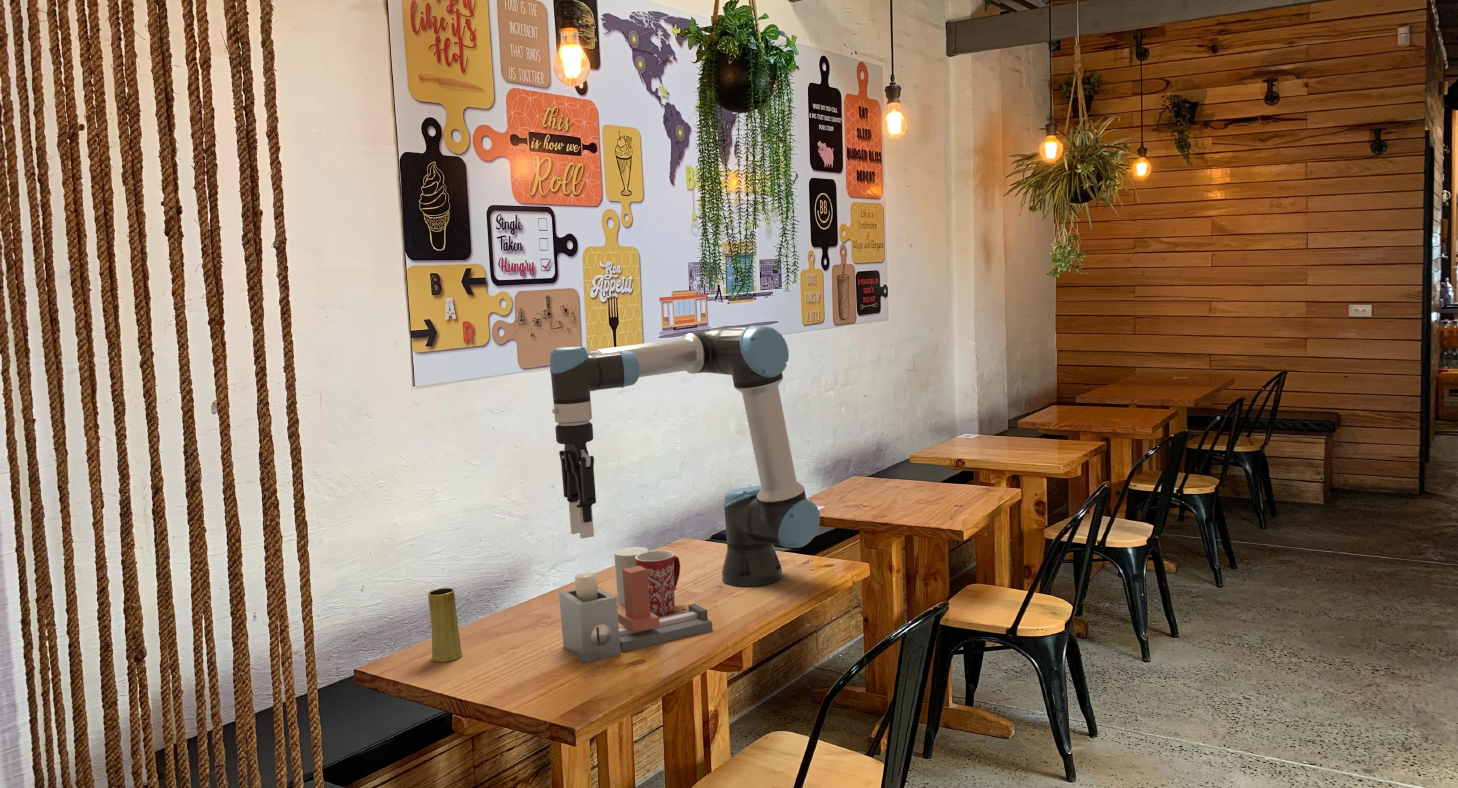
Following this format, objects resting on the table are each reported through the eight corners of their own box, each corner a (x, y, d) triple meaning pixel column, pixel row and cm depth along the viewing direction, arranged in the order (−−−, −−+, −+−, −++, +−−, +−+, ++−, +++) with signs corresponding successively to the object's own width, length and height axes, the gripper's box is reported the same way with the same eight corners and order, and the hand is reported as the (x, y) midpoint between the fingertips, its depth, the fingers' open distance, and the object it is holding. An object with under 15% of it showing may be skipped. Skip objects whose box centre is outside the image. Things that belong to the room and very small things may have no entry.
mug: (661, 620, 239) (656, 562, 238) (631, 615, 245) (626, 557, 244) (696, 605, 249) (692, 548, 248) (667, 600, 255) (663, 544, 253)
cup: (631, 607, 251) (627, 557, 250) (611, 601, 257) (607, 552, 256) (658, 599, 256) (655, 550, 255) (638, 593, 262) (635, 545, 261)
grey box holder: (598, 638, 230) (594, 584, 228) (622, 655, 219) (617, 598, 217) (563, 647, 226) (558, 591, 225) (585, 663, 215) (580, 606, 214)
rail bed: (691, 618, 239) (690, 601, 239) (712, 630, 231) (711, 612, 230) (604, 639, 229) (603, 621, 229) (623, 651, 221) (621, 633, 220)
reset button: (593, 594, 224) (591, 571, 224) (601, 599, 221) (599, 575, 220) (573, 598, 222) (571, 575, 222) (581, 603, 218) (579, 579, 218)
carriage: (643, 616, 232) (639, 562, 231) (659, 625, 225) (655, 570, 224) (618, 622, 230) (614, 568, 228) (633, 631, 223) (629, 575, 221)
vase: (437, 653, 227) (431, 587, 226) (465, 651, 227) (459, 586, 225) (428, 663, 221) (422, 596, 220) (457, 661, 221) (451, 594, 219)
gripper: (541, 421, 223) (550, 530, 226) (571, 428, 208) (581, 546, 211) (575, 417, 227) (583, 524, 229) (607, 424, 212) (616, 539, 214)
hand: (582, 534), depth 220 cm, fingers open, 4 cm apart
